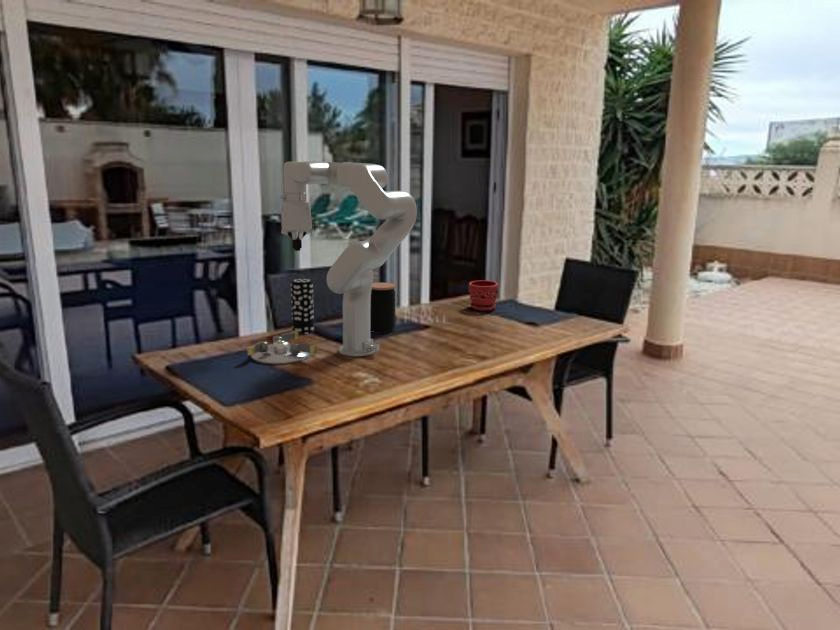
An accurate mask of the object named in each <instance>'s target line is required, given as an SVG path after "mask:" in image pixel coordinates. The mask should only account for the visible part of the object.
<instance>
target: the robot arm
mask: <svg viewBox="0 0 840 630" xmlns="http://www.w3.org/2000/svg"><path fill="white" fill-rule="evenodd" d="M388 182H389V175H388V172H387V170H386V168H385V167H383V166H382V165H380V164H375V163H366V162H364V163H363V162H349V161H348V162H347V161H343V162H334V161H319V160H318V161H316V160H315V161H314V160H313V161H287V162H285V163H284V164H283V184H284V193H283V194H280V197H279V198H280V199H282V200H284V201H283V202H282V205H281V219H280V220H281V221H280V222H281V223H280V225H281V232H280V234H282V235H285V236H288V237H289V238H290V239H291V240H292V241H291V243H292V244H291V245H292V249H293V251H295V252H298V251H299V252H301V249H302V247H303V246H302V245H303V243H302V240H303V238H304V237H305V236H306V235H309V234H312V233H313V230H312V229H313V221H312V211H311V206H310V201H308V200H307V197H308V196H307V185H318V184H319V185H321V184H322V185H323V184H324V185H325V184H326V185H339V187H340V188H342V189H345V190H346V189H348V190H351V192H352V193H353V195H354V196H356V198H357V199H358V201H359V202H360V203H361V204H362V206H363V207H364V208H365V209H366V211H367V212H368V213H369V214H370V215H371V216H372V217H373V218H374V219H377V220H383V221H384V220H386V221H384V222H383V223H382V224H381V225H380V226H379V227H378V228H377V229H376V231H375V232H374V233H373V234H372V235H371V236H370V237H369V238H367V239H366V240H362V241H357V242H353V243H351V244H350V245H348V246H347V247H346V248H345V249H344V250H343V251H342V253H341V254H340V255H339V256H338V258H337V259H336V260H335V262H334V263H333V264H332V265H331V266H330V268H329V270H328V271H327V274H326V284H327V287H328V289H329V290H331V292H333V293H335V294H343V295H342V296H343V298H342V345H340V346H339V347H338V353H339V354H340V355H342V356H346V357H357V358H359V357H365V356H370V355H373V354H374V353H376V352H379V351H380V344H379V343H374V338H371V331H370V308H371V289H372V284H373V283H374V273H373V272H374V271H373V270H375V269H379V268H380V267H381V266H383V265H384V264H385V263H386V262H387V260H388V259H389V258H390V256H391V255H392V254H393V253H394V252H395V251H396V250H397V248H398V247H399V245H400V244H402V242H403V241H404V240H405V239H406V237H407V236H408V235H409V234H410V232H411V231H412V230H413V228H414V225H415V223H416V221H417V216H418V215H417V214H418V206H417V204H416V200H415V198H414V197H413V196H412V194H410V193H409V192H406V191H403V190H388V191H387V190H386V191H384V190H383V188H385V186H386V185H387V184H388ZM296 232H297V236H296Z"/></svg>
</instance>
